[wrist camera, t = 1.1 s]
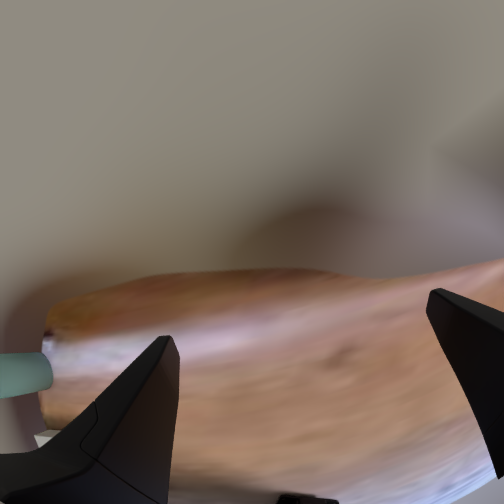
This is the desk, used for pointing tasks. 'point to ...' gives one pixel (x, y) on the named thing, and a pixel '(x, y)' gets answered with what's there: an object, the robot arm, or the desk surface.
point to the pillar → (24, 374)
